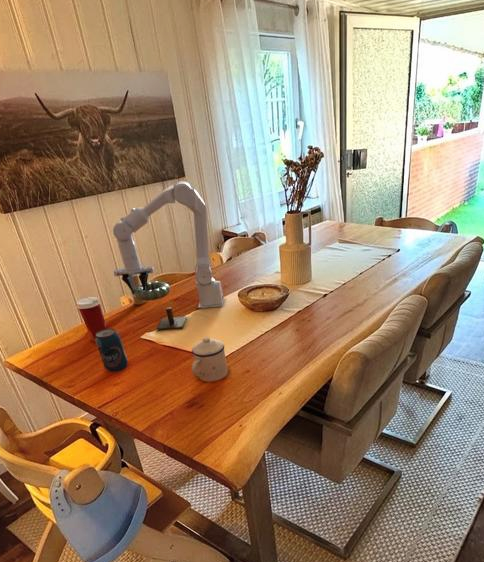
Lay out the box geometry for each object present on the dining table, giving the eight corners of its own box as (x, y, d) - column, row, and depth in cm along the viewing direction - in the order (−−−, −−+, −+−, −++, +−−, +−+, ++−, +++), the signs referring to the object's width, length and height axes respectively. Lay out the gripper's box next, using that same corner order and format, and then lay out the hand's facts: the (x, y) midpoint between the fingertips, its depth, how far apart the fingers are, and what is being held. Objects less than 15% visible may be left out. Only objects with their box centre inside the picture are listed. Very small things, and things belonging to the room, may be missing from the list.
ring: (173, 287, 169) (171, 278, 167) (166, 300, 159) (164, 290, 156) (140, 290, 170) (138, 281, 168) (131, 303, 159) (128, 294, 157)
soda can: (106, 375, 129) (93, 339, 122) (105, 365, 134) (92, 330, 128) (130, 369, 131) (118, 333, 124) (127, 360, 136) (116, 325, 130)
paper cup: (116, 334, 154) (104, 296, 146) (102, 344, 148) (88, 305, 140) (98, 332, 156) (85, 295, 148) (84, 342, 150) (69, 304, 142)
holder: (186, 318, 161) (183, 302, 157) (182, 329, 153) (178, 311, 149) (162, 320, 161) (158, 304, 157) (157, 331, 153) (153, 314, 150)
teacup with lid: (211, 364, 130) (204, 328, 124) (235, 370, 126) (229, 334, 119) (184, 383, 122) (175, 346, 115) (208, 390, 118) (200, 353, 111)
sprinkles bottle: (147, 302, 178) (138, 270, 170) (136, 305, 176) (127, 273, 168) (143, 299, 181) (134, 268, 173) (132, 302, 179) (123, 270, 172)
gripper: (106, 261, 153) (118, 298, 160) (147, 258, 152) (156, 295, 160) (112, 256, 158) (123, 291, 166) (151, 252, 158) (160, 288, 166)
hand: (140, 292), depth 163 cm, fingers closed on ring, 4 cm apart
